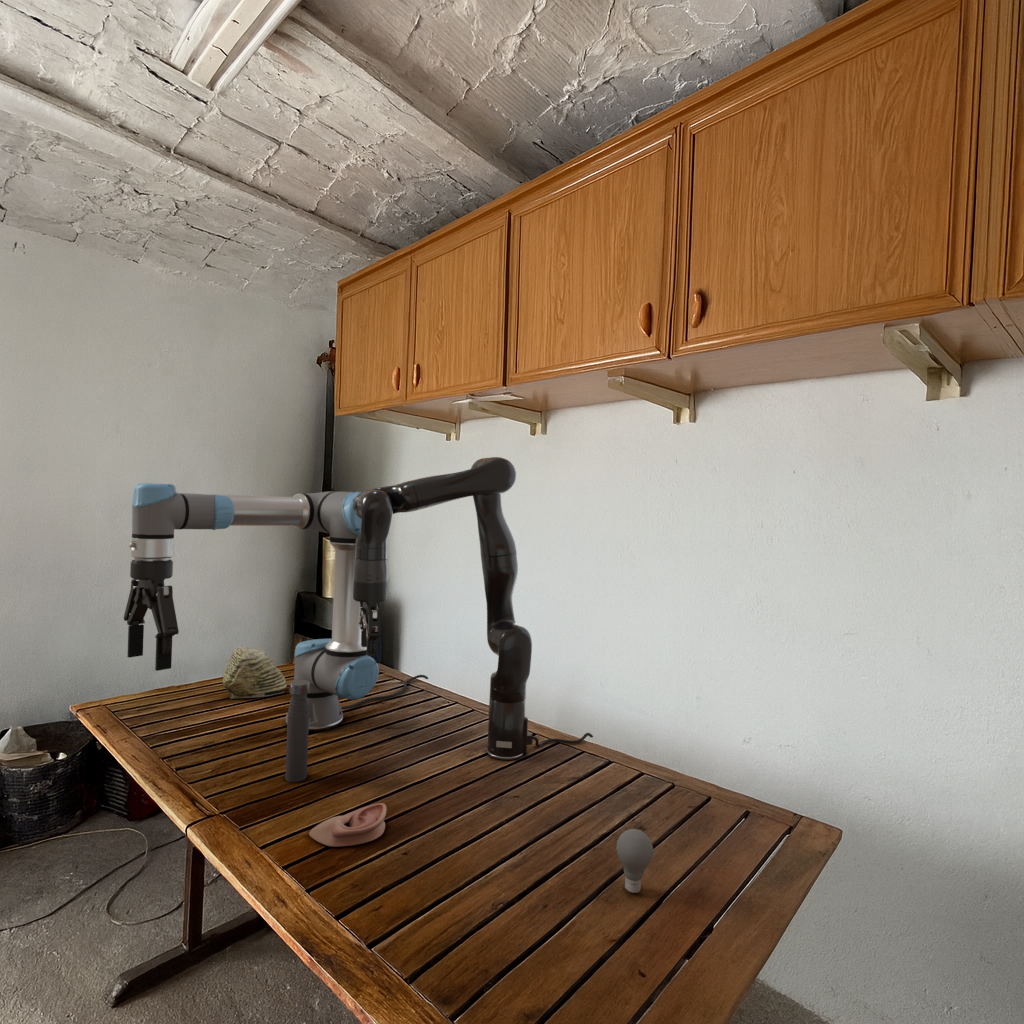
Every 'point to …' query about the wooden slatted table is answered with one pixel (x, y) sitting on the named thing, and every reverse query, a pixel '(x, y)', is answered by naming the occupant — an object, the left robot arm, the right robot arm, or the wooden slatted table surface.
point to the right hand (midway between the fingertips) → (368, 650)
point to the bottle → (297, 739)
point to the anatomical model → (352, 827)
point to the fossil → (252, 674)
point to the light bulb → (634, 857)
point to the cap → (299, 687)
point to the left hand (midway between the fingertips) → (148, 662)
